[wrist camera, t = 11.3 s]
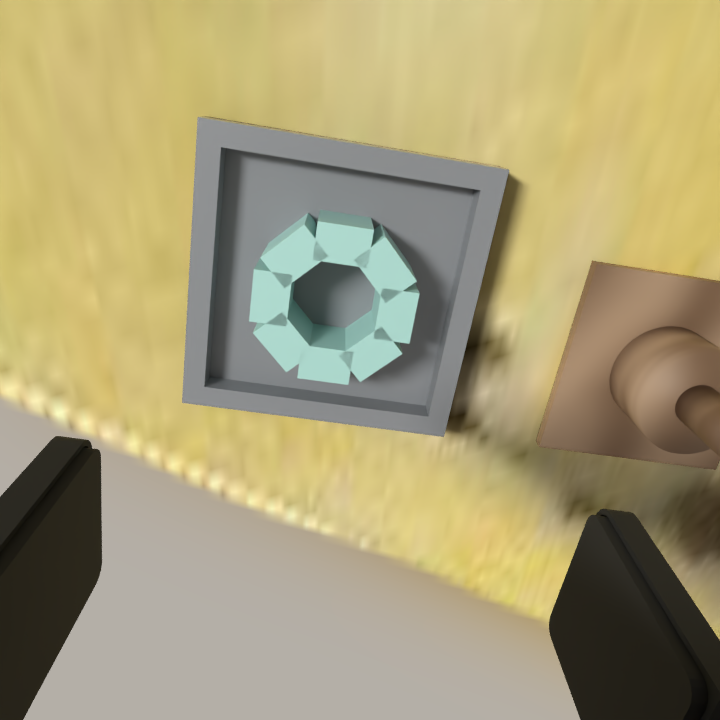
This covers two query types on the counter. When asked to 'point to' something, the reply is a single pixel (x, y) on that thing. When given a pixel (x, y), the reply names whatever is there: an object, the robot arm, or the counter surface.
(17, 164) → the counter surface
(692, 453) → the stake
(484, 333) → the counter surface
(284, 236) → the ring
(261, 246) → the tray
